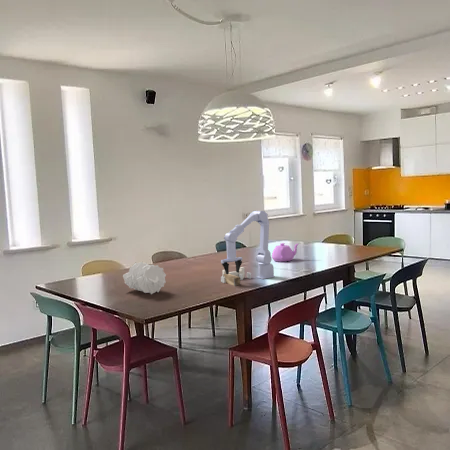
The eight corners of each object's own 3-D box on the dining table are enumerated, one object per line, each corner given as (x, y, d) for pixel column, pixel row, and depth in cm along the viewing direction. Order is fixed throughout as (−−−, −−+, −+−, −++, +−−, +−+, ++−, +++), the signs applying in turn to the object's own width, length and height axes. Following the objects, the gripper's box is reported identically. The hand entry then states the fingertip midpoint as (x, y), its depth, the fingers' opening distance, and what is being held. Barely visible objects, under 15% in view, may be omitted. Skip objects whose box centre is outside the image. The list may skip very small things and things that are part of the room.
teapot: (299, 262, 355) (299, 244, 353) (271, 263, 358) (270, 245, 357) (299, 258, 376) (299, 240, 375) (272, 258, 380) (272, 241, 379)
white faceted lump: (142, 294, 294) (163, 298, 275) (118, 286, 284) (138, 290, 264) (150, 266, 298) (172, 268, 279) (127, 257, 288) (148, 259, 269)
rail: (228, 281, 300) (228, 273, 300) (240, 285, 287) (239, 277, 287) (223, 282, 299) (223, 274, 298) (235, 286, 285) (234, 278, 285)
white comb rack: (246, 276, 311) (245, 266, 310) (251, 278, 306) (250, 267, 305) (219, 281, 301) (218, 270, 300) (224, 283, 295) (223, 272, 295)
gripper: (237, 249, 299) (238, 270, 300) (218, 252, 292) (219, 274, 293) (243, 250, 293) (244, 272, 294) (223, 253, 286) (225, 275, 287)
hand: (232, 273), depth 293 cm, fingers open, 7 cm apart
